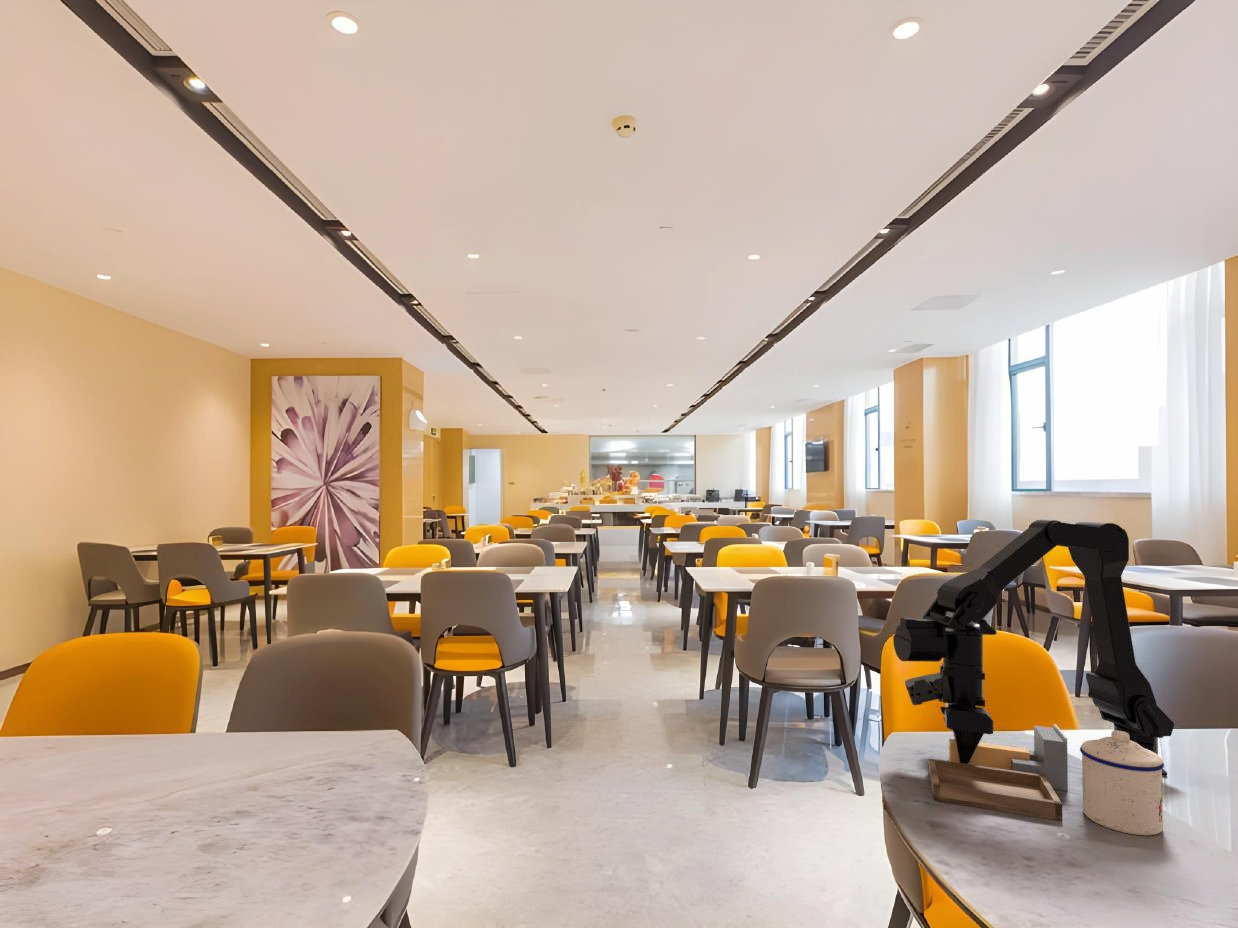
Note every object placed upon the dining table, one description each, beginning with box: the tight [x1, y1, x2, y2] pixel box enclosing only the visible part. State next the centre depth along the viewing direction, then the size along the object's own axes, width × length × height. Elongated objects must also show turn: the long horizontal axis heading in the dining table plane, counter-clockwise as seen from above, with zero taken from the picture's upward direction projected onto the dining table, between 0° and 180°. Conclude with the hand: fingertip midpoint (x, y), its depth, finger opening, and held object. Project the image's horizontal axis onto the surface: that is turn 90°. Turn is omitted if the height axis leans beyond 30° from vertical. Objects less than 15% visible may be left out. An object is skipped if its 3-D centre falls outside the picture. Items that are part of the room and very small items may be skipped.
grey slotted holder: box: [1011, 723, 1069, 792], centre depth 105 cm, size 7×7×8 cm
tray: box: [928, 758, 1063, 822], centre depth 99 cm, size 11×16×2 cm
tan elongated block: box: [948, 738, 1030, 770], centre depth 108 cm, size 2×11×4 cm, turn 70°
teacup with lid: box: [1079, 729, 1165, 836], centre depth 93 cm, size 12×9×12 cm
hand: (963, 760), depth 109 cm, fingers closed on tan elongated block, 2 cm apart
